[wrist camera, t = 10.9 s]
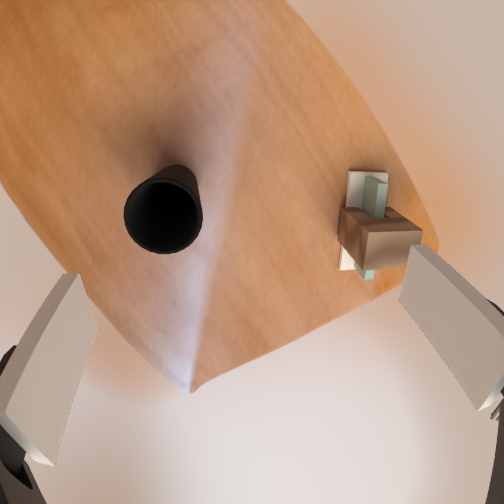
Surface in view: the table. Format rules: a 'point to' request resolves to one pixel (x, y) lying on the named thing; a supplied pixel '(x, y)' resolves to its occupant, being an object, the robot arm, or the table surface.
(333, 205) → the table surface
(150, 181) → the cup
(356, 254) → the brown notched block
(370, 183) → the inverted t-shaped bar
